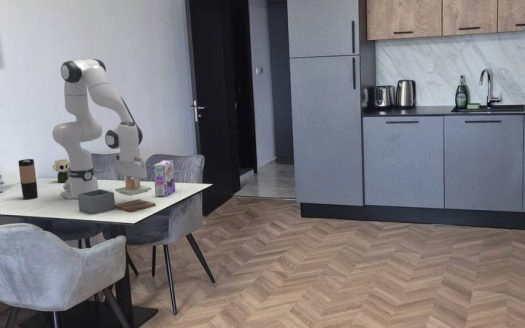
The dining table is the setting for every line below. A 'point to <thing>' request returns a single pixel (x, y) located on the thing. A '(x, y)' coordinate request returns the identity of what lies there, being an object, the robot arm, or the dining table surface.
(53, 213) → the dining table surface
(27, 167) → the travel mug
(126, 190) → the lid
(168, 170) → the candy box
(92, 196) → the storage box
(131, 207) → the walnut board
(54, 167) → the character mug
